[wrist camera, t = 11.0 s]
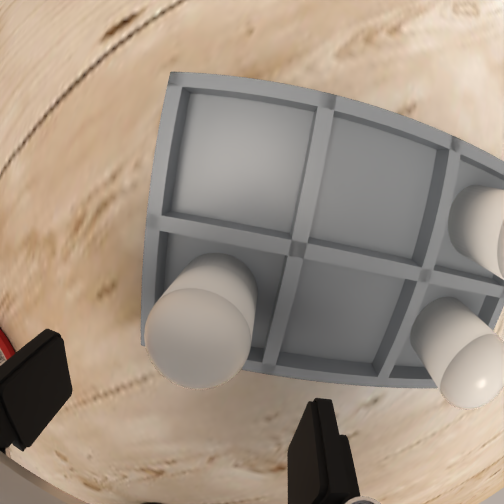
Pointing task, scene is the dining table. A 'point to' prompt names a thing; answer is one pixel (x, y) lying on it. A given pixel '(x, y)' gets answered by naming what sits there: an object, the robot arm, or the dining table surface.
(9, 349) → the canned food
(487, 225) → the seated egg
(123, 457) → the dining table surface
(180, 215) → the egg carton
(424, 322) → the seated egg
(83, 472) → the dining table surface
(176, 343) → the loose egg
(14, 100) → the dining table surface
